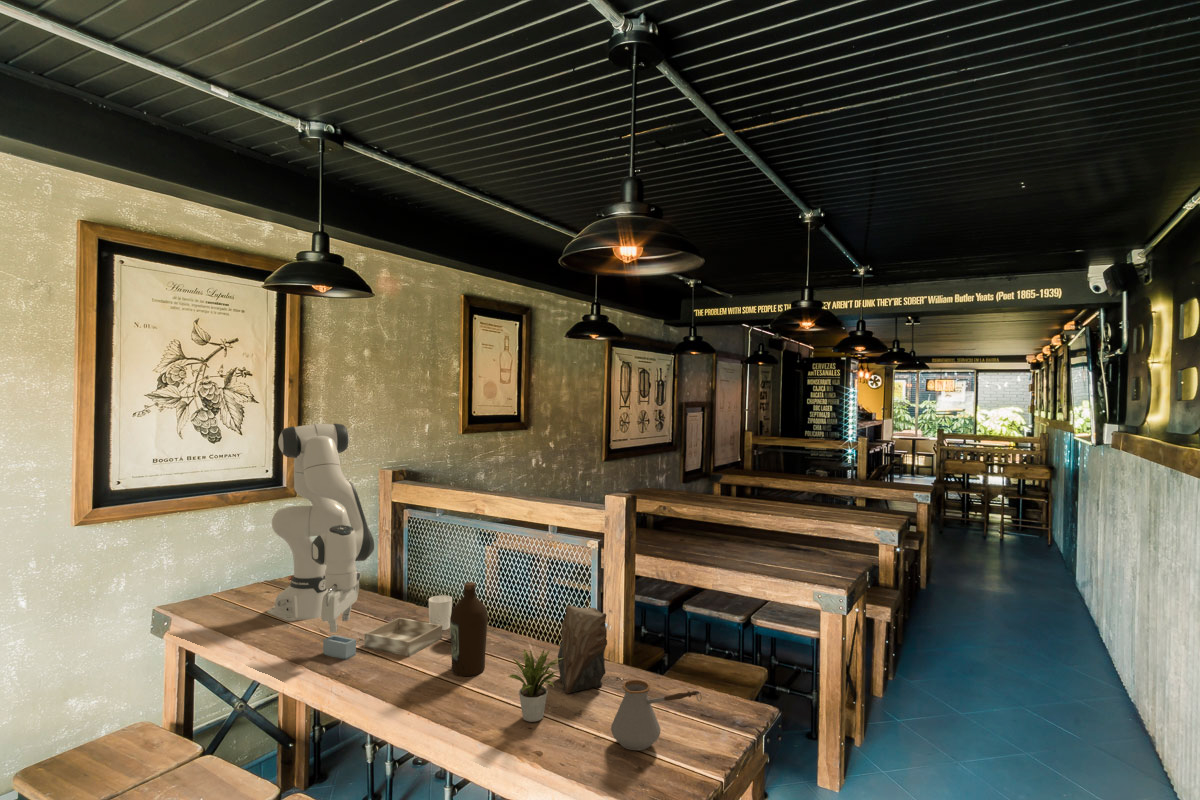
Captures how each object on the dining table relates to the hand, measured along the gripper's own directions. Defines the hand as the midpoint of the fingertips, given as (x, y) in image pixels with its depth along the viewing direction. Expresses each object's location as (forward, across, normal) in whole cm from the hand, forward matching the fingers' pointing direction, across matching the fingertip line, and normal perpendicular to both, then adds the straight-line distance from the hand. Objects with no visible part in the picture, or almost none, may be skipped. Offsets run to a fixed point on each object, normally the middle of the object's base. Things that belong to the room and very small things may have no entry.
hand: (339, 625), depth 189 cm
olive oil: (+9, -10, -41) cm, 43 cm away
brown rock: (+9, -17, -74) cm, 76 cm away
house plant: (+9, -38, -62) cm, 73 cm away
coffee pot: (+9, -51, -90) cm, 104 cm away
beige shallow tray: (+9, +10, -17) cm, 21 cm away
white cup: (+9, +24, -25) cm, 36 cm away
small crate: (+9, 0, 0) cm, 9 cm away
